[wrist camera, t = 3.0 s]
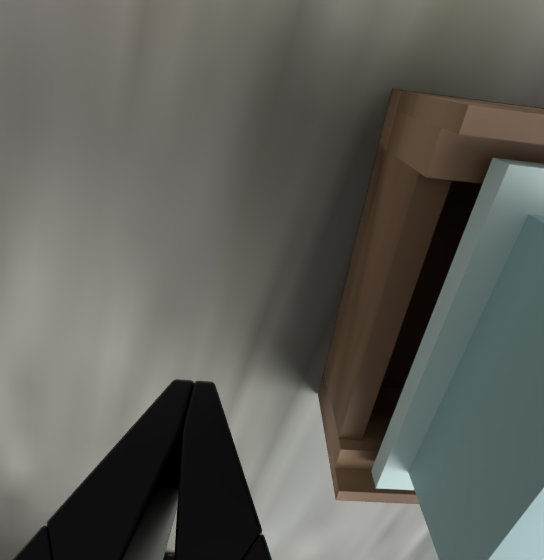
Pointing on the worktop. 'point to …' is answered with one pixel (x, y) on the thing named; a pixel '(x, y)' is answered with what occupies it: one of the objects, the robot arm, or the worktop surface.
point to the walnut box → (407, 263)
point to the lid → (481, 384)
